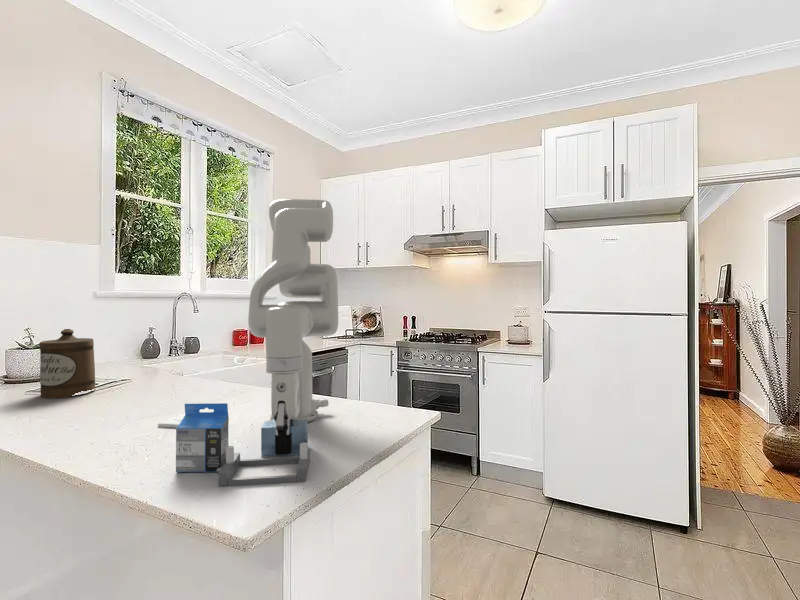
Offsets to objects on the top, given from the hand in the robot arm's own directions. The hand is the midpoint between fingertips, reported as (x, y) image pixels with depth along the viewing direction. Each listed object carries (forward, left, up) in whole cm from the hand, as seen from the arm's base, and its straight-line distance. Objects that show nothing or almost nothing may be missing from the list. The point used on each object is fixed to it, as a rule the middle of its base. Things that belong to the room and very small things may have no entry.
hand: (285, 448), depth 93 cm
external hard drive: (+10, -38, -2) cm, 39 cm away
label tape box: (+16, -2, -1) cm, 16 cm away
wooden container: (+33, -99, -1) cm, 104 cm away
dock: (+7, +8, -1) cm, 11 cm away
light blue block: (0, 0, -1) cm, 1 cm away
